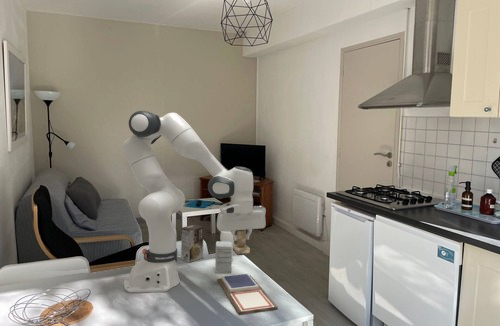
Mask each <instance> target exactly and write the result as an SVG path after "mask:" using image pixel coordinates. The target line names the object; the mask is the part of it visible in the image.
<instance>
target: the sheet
mask: <svg viewBox="0 0 500 326" xmlns="http://www.w3.org/2000/svg"><path fill="white" fill-rule="evenodd" d="M231 296H232V297H233V299H234V301H235V302H236V304H237V305H238V307H239V308H240V310H241V311H249V310H256V309H263V308H270V307H274V306H273V305H272V303H271V302H270V301H269V300H268V299H267V297H266V296H265V295H264V294H263V293H262V291H261V290H256V291H248V292H240V293H231Z"/></svg>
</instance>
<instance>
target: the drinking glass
mask: <svg viewBox="0 0 500 326" xmlns="http://www.w3.org/2000/svg"><path fill="white" fill-rule="evenodd" d="M219 237H220V242H232V255H233V252H234V251H233V244H235V241H234V240H233V235H232V233H231V231H220V236H219Z"/></svg>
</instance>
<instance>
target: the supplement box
mask: <svg viewBox="0 0 500 326" xmlns="http://www.w3.org/2000/svg"><path fill="white" fill-rule="evenodd" d="M232 262H233V254H232V242H221V241H216V242H215V267H214V268H215V274H232V268H233V267H232V264H233V263H232Z"/></svg>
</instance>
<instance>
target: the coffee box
mask: <svg viewBox="0 0 500 326" xmlns="http://www.w3.org/2000/svg"><path fill="white" fill-rule="evenodd" d="M180 240H181V248H180V249H181V251H180V252H181V254H180V255H181V256H180V259H181V261H183V262H186V263H192V262H195V261H198V260H200V259H203V258H204V226H201V225H198V224H196V223H195V224H194V223H193V224H190V225H186V226H183V227H181V239H180Z"/></svg>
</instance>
